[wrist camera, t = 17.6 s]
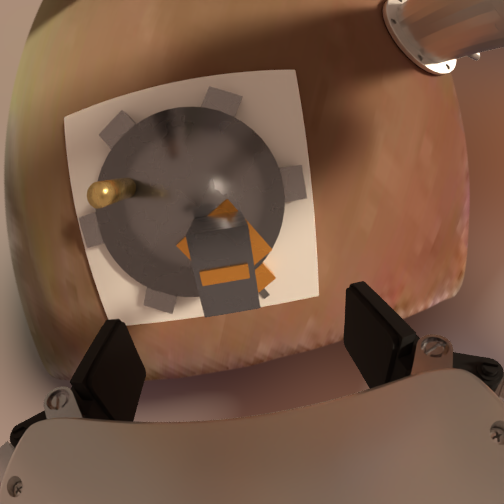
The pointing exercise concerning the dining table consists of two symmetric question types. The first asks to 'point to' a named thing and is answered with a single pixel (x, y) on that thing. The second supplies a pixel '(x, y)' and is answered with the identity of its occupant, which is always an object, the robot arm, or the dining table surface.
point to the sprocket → (184, 192)
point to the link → (223, 263)
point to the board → (253, 115)
